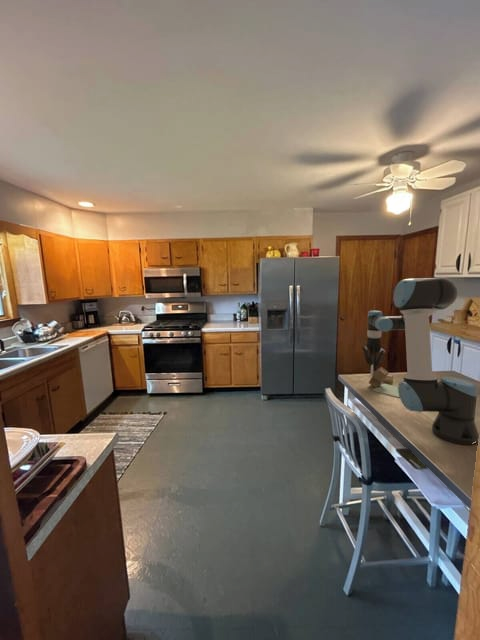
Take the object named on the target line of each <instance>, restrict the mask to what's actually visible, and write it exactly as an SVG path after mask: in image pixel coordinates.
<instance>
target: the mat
mask: <svg viewBox="0 0 480 640" xmlns="http://www.w3.org/2000/svg"><path fill="white" fill-rule="evenodd" d="M372 391H373V392H376V393H380V394H384V395H388V396H390V397H393V398H397V399H400V397H399V393H398V386H396V385H393V384H386V383H382V384H381V385H380V386H379V387H377V388H375V387H374V388H373V389H372Z"/></svg>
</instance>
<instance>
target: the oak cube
mask: <svg viewBox="0 0 480 640" xmlns="http://www.w3.org/2000/svg"><path fill="white" fill-rule="evenodd" d="M393 383H394V374H393V373H388V375H387V376H386V378H385V379H384V381H383V382H382V384H388V385H393Z"/></svg>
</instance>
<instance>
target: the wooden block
mask: <svg viewBox="0 0 480 640" xmlns="http://www.w3.org/2000/svg"><path fill="white" fill-rule="evenodd" d="M388 374H390V371H388V370H387V369H385V368H384V367H382V366H380V367H379V368H378V367H377V370H376V371H375V373H374V375H373V376H371V378H370V380H369V382H368V384H370V385H371V386H372V387H373V388H374V389H375V388H377V387H379V386H380V385H382V384H383V381H384V379H385V378H386V376H387V375H388Z"/></svg>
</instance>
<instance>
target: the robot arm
mask: <svg viewBox="0 0 480 640" xmlns="http://www.w3.org/2000/svg"><path fill="white" fill-rule="evenodd" d="M457 298H458V289H457V286H456V285H455V284H454V283H453V282H452V281H450V280H449V279H447V278H443V277H423V278H421V277H420V278H419V277H418V278H416V277H415V278H413V277H412V278H405V279H402V280H400V281H398V283H397V284H396V287H395V288H394V292H393V303H394V306H395V307H396V308H399V312H400V313H401V314H402V315H393V316H392V315H391V316H386V315H385V316H384V315H383V311H381V310H369V311H368V312H367V333H366V336H367V337H366V345H365V346H362V350H363V353H364V357H365V363H366V364H368V365H369V368H368V370H369V371H370V374H369V375H370V377H372V376H373V375H374V373H375V372H376V370H377V369H378V366H380V365H381V364H382V360H383V357H384V354H385V353H386V351H387V350H386V349H384V348H382V332H389V331H401V330H402V331H404V332H405V335H404V336H405V350H406V369H407V373H406V374H404V375H403V380H402V381H399V383H398V386H397V387H398V393H399V399H400V401H401V403H402V405H403V406H404V408H406V409H407V410H409V411H411V412H418V413H423V412H428V413H429V412H432V413H433V412H438V413H437V415H436V416H435V418H434V421H433V422H432V426H431V428H432V429H431V431H432V433H433V434H434V435H435V436H437V437H438V438H440V439H441V440H444V441H446V442H449V443H452V444H456V445H462V446H472V445H471V444H472V443H473V442H475V441H476V443H477V444H478V443H479V442H478V439H480V434H479V431H478V428H477V425H476V421H475V418H476V406H477V398H478V388H477V386H476V385H475V384H474V383H471V382H470V381H468V380H464V379H461V378H458V377H452V376H442V377H441V378H440V379H439V380H440V381H438V377H436V376H435V375H434V374H433V363H432V348H431V347H432V345H431V332H430V331H431V330H430V328H431V327H430V317H431V316H432V315H433V314H435V313H437V312H438V311H439V310H444V309H445V310H446V309H447V308H449V307H450V306H451V305H453V304H454V303H455V302H456V300H457ZM379 352H380V353H379Z"/></svg>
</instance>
